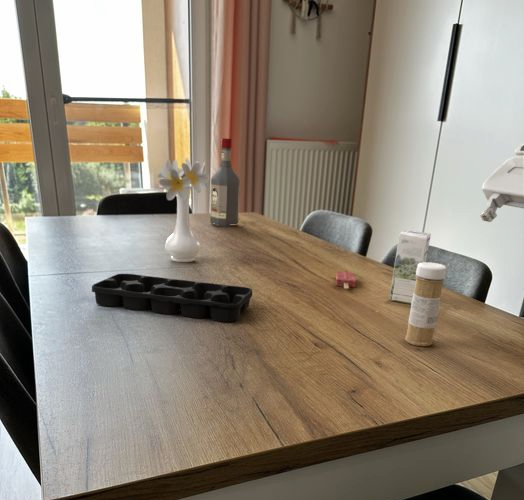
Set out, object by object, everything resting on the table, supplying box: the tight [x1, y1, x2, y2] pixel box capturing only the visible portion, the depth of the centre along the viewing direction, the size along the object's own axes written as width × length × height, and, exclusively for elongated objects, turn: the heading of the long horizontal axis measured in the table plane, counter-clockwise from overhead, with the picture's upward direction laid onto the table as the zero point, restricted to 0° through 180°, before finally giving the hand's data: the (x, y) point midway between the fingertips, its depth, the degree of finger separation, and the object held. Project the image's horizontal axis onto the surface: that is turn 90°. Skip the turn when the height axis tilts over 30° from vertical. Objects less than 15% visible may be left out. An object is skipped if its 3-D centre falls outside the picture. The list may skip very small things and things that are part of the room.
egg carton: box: [91, 273, 253, 323], centre depth 98 cm, size 18×30×4 cm, turn 89°
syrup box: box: [388, 229, 431, 305], centre depth 109 cm, size 6×6×14 cm
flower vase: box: [157, 157, 211, 263], centre depth 130 cm, size 13×18×25 cm
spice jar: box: [404, 261, 448, 347], centre depth 85 cm, size 5×5×14 cm
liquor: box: [209, 137, 241, 228], centre depth 187 cm, size 9×9×30 cm
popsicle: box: [335, 270, 357, 290], centre depth 121 cm, size 4×2×15 cm
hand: (505, 223), depth 82 cm, fingers open, 8 cm apart
